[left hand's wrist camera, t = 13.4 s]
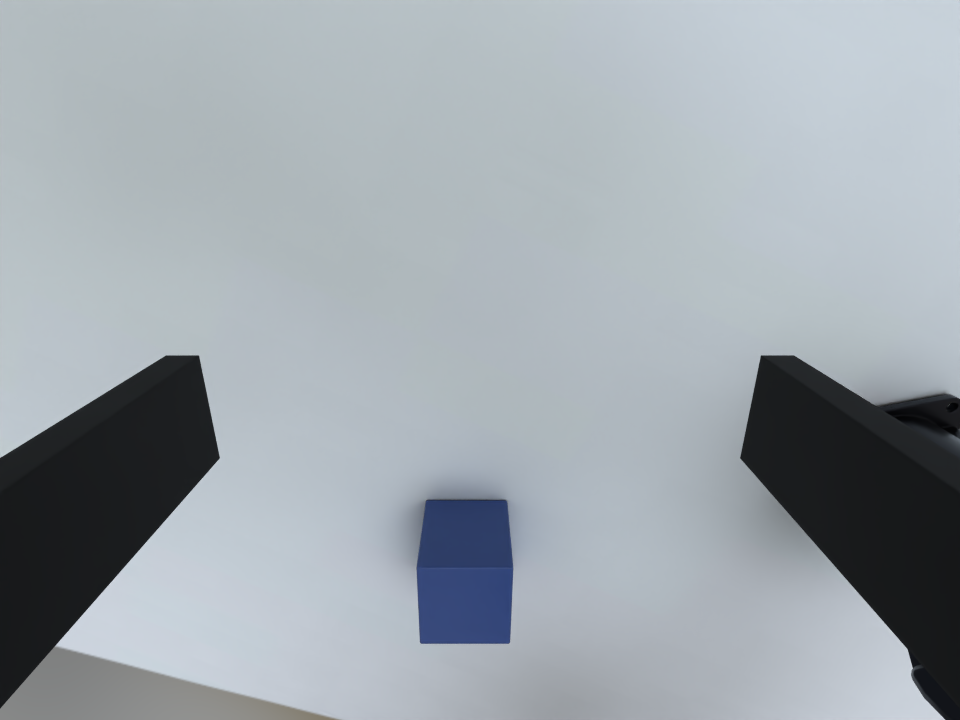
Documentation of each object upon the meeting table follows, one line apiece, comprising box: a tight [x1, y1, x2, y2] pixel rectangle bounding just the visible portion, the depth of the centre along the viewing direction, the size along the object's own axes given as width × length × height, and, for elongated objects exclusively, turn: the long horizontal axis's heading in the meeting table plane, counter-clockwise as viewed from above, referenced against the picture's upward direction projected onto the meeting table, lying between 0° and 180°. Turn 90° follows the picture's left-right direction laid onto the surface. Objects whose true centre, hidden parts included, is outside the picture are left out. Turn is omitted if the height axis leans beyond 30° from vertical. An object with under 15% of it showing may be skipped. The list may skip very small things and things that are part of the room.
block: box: [417, 500, 513, 644], centre depth 26 cm, size 4×5×5 cm
